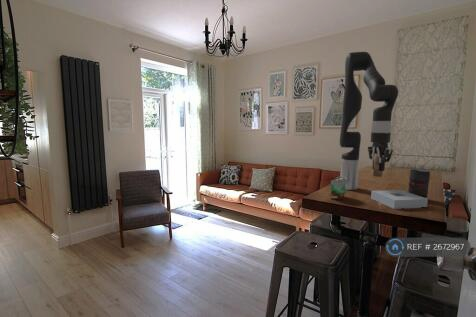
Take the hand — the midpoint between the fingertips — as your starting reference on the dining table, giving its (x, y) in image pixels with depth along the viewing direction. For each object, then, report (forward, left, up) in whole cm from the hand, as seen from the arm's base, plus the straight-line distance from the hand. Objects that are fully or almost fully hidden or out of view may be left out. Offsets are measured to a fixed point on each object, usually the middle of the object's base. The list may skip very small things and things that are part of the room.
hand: (378, 170), depth 110 cm
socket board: (-4, +14, -17) cm, 22 cm away
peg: (0, 0, -3) cm, 3 cm away
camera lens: (-8, +28, -17) cm, 34 cm away
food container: (-15, -9, -17) cm, 25 cm away
